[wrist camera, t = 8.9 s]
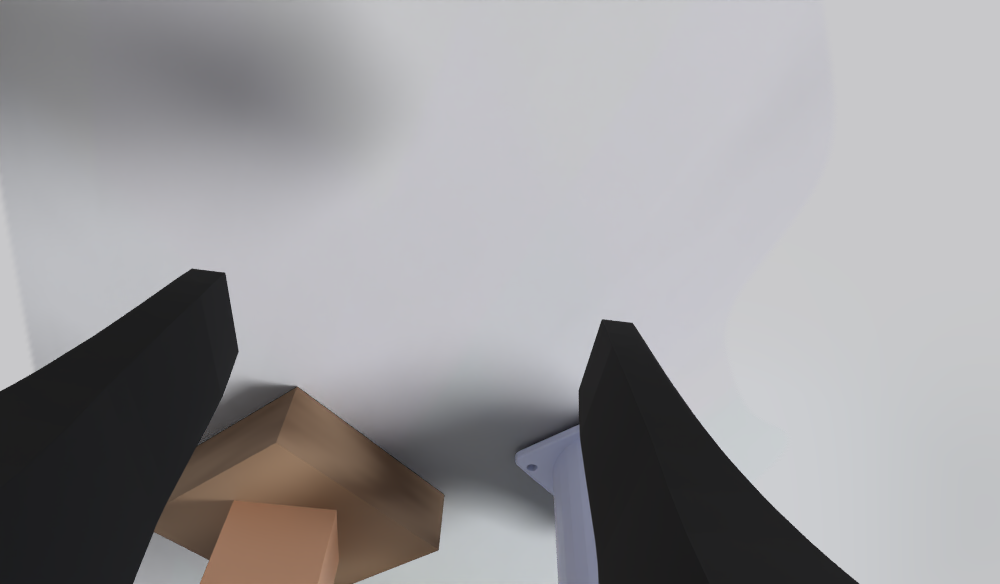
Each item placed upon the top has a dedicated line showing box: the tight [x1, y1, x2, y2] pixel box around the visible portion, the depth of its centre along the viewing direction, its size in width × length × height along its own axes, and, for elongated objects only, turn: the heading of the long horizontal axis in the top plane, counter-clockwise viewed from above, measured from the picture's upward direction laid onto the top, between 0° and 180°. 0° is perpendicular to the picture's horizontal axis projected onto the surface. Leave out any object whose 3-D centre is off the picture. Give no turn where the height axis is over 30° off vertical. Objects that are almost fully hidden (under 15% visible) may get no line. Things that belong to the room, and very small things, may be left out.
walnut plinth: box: [154, 387, 444, 584], centre depth 30 cm, size 10×10×3 cm
